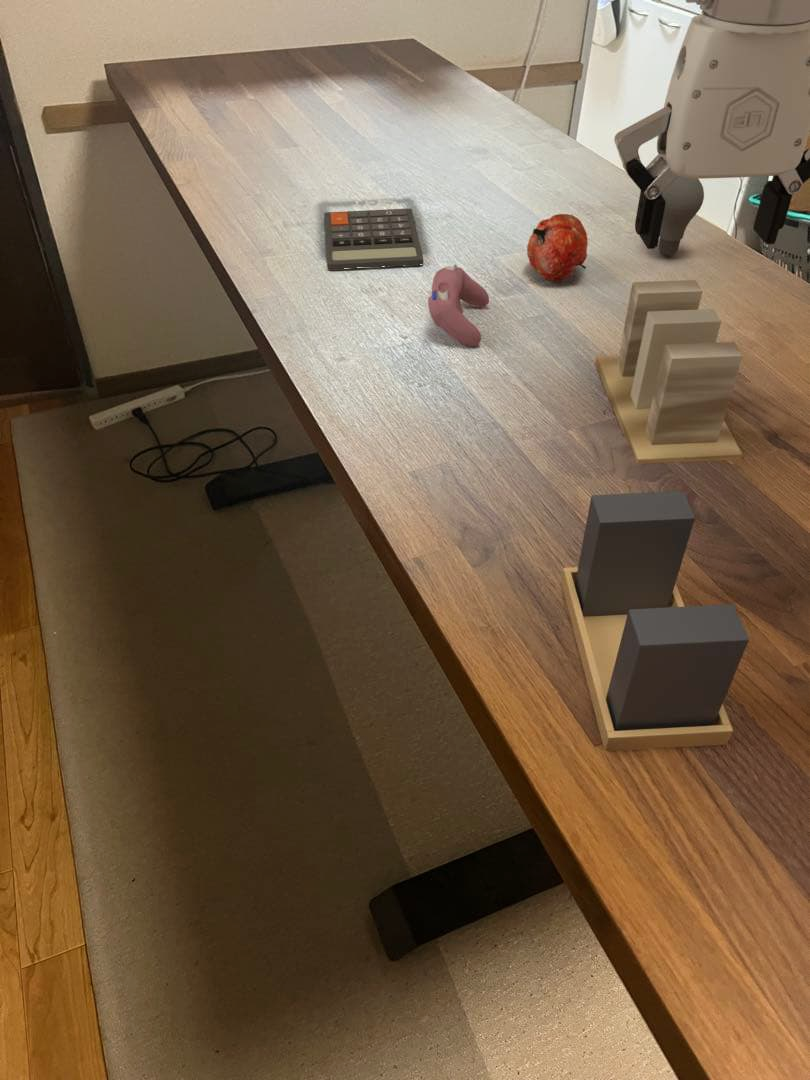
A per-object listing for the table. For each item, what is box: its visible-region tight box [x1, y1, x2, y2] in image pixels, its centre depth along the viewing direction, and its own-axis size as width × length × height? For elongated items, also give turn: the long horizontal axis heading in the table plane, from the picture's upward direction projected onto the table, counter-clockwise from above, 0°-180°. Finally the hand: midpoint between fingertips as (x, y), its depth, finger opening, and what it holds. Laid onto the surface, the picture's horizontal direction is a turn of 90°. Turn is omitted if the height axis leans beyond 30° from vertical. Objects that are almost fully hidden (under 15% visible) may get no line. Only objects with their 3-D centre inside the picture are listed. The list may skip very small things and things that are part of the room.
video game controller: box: [427, 264, 490, 347], centre depth 93 cm, size 10×5×7 cm, turn 170°
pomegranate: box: [526, 213, 589, 283], centre depth 101 cm, size 7×7×10 cm
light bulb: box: [658, 176, 705, 258], centre depth 103 cm, size 6×6×10 cm
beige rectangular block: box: [630, 308, 722, 409], centre depth 79 cm, size 2×6×9 cm, turn 93°
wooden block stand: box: [594, 279, 744, 465], centre depth 79 cm, size 17×9×10 cm, turn 3°
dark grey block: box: [606, 603, 750, 731], centre depth 54 cm, size 3×6×10 cm, turn 93°
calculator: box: [323, 208, 424, 271], centre depth 109 cm, size 12×1×15 cm
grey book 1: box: [575, 490, 696, 617], centre depth 61 cm, size 3×6×10 cm, turn 93°
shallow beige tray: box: [560, 566, 734, 752], centre depth 60 cm, size 15×8×2 cm, turn 3°
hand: (705, 239), depth 71 cm, fingers open, 9 cm apart
